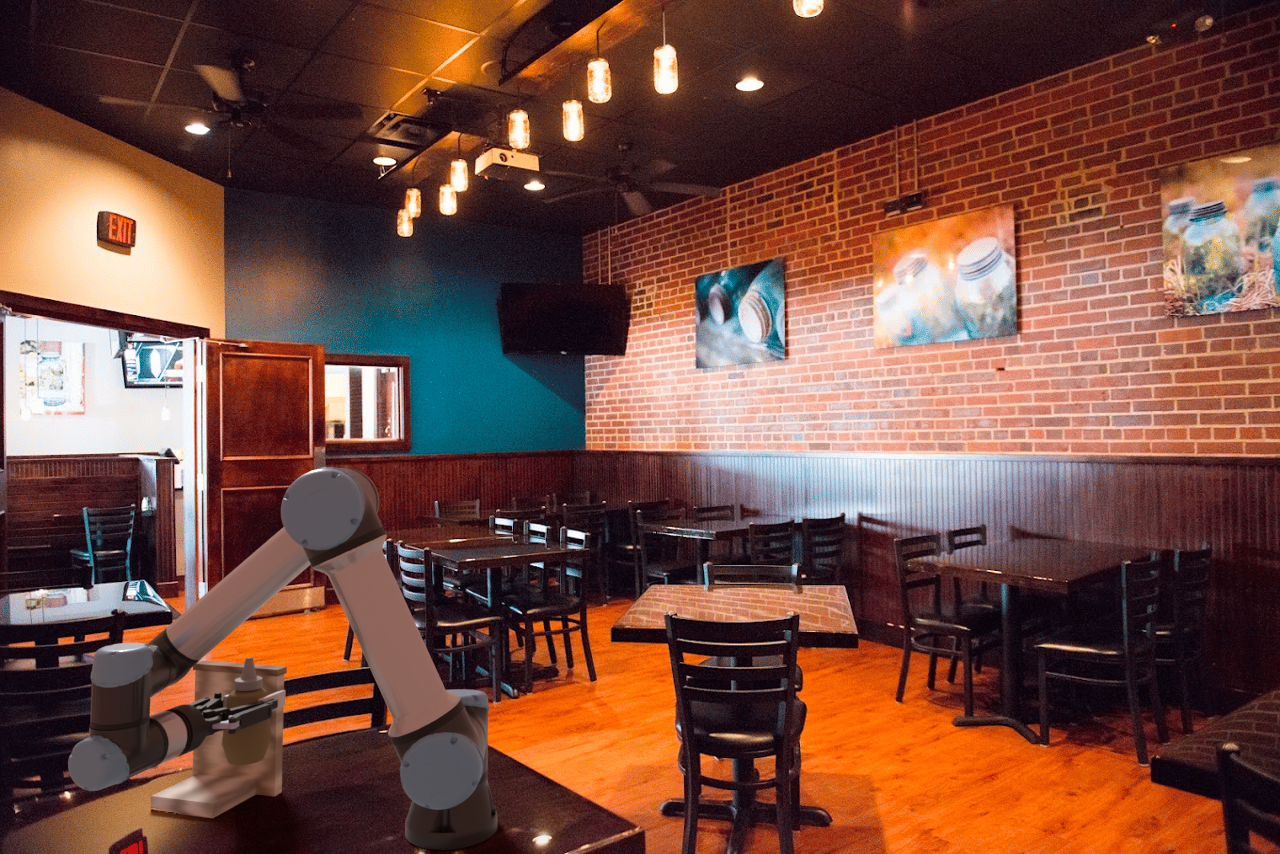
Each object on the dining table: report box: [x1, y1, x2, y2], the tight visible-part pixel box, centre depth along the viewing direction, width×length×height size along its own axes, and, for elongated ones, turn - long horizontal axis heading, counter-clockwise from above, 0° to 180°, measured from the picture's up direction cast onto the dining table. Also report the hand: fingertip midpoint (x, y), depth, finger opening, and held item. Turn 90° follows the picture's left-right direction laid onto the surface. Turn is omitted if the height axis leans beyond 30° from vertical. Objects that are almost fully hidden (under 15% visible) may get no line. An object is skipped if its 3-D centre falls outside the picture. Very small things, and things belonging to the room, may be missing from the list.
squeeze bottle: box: [222, 656, 271, 765], centre depth 152 cm, size 8×8×18 cm
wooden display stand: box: [150, 660, 288, 819], centre depth 157 cm, size 19×13×23 cm
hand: (266, 696), depth 157 cm, fingers closed on squeeze bottle, 6 cm apart
